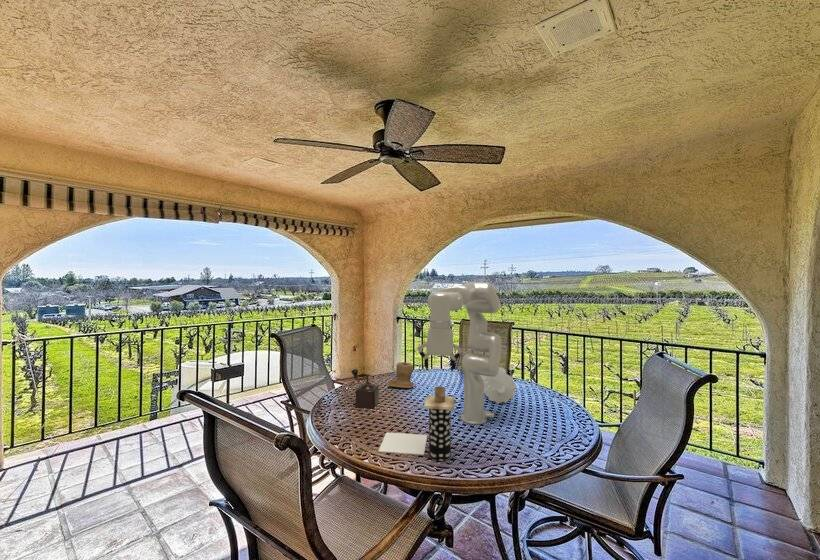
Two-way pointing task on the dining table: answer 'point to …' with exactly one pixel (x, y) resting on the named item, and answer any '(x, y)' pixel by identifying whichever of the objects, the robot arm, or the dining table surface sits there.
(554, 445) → the dining table surface
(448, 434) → the spotted tube
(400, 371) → the tan stepped piece
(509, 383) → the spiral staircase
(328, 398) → the dining table surface
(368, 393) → the pepper mill
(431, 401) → the wooden lid
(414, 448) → the white flat block
